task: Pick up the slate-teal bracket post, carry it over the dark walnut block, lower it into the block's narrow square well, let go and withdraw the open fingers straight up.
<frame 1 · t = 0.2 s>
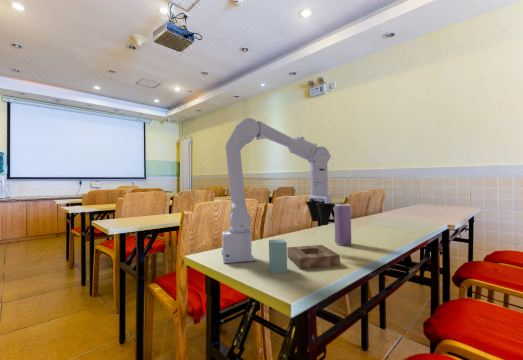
hand: (319, 223, 86), 10 cm above the table, fingers open, 7 cm apart
beverage can: (343, 244, 97), on the table
well block: (312, 260, 78), on the table
bracket post: (278, 270, 71), on the table
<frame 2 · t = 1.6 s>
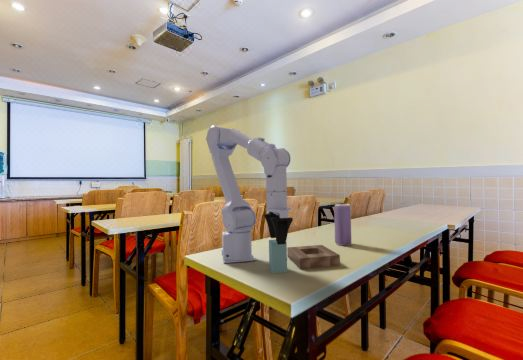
hand: (277, 240, 71), 8 cm above the table, fingers open, 7 cm apart
nothing on the table moved.
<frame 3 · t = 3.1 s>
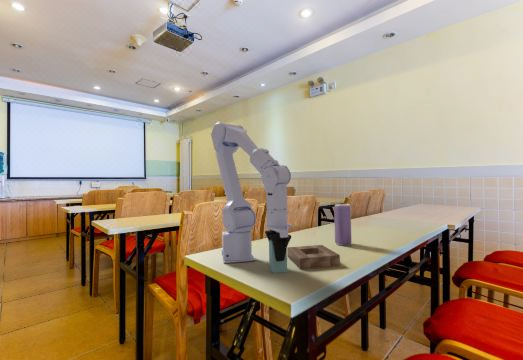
hand: (277, 258, 71), 3 cm above the table, fingers closed on bracket post, 4 cm apart
bracket post: (278, 269, 71), on the table, touching gripper
everything else where it was.
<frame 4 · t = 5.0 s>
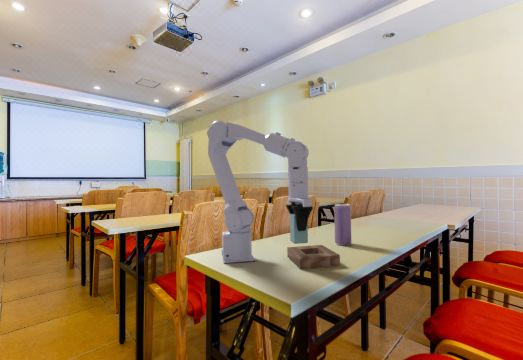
hand: (299, 229, 75), 10 cm above the table, fingers closed on bracket post, 4 cm apart
bracket post: (298, 241, 75), point 7 cm above the table, touching gripper
everything else where it was.
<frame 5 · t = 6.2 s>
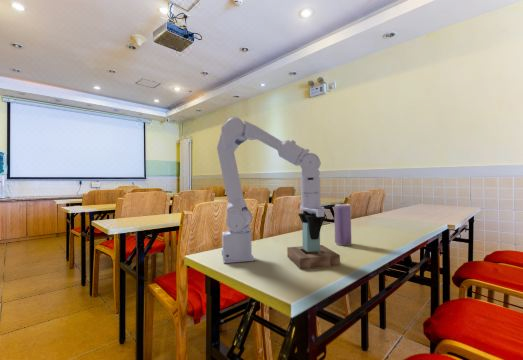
hand: (311, 237, 78), 7 cm above the table, fingers closed on bracket post, 4 cm apart
bracket post: (311, 249, 78), point 3 cm above the table, touching gripper
everything else where it was.
when the fingers open (5 cm above the table, at t = 7.1 s): bracket post drops 1 cm, resting in well block.
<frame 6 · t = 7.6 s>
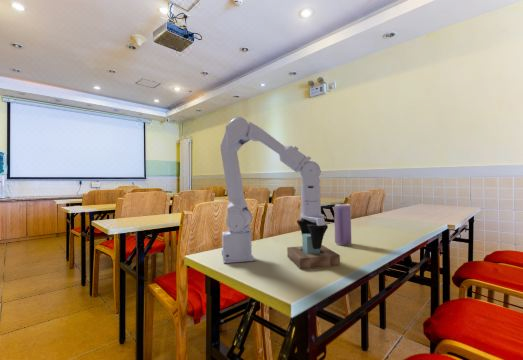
hand: (311, 245, 78), 5 cm above the table, fingers open, 7 cm apart
bracket post: (311, 261, 78), resting in well block
everything else where it was.
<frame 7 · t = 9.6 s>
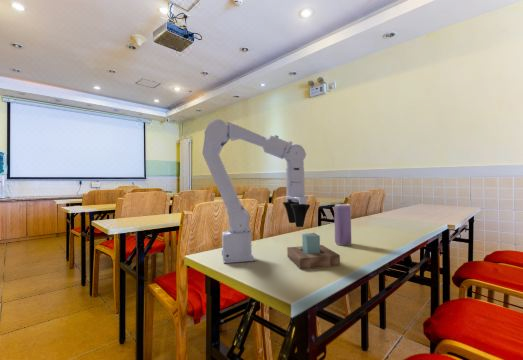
hand: (295, 224, 83), 10 cm above the table, fingers open, 7 cm apart
nothing on the table moved.
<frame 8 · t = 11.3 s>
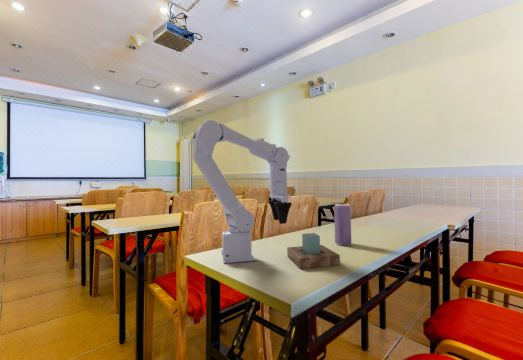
hand: (279, 221, 89), 10 cm above the table, fingers open, 7 cm apart
nothing on the table moved.
at the end: bracket post 0.3 cm off-centre on the well block, point 0.0 cm above the well block's base; bracket post tilted 0°; the gripper is holding nothing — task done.
